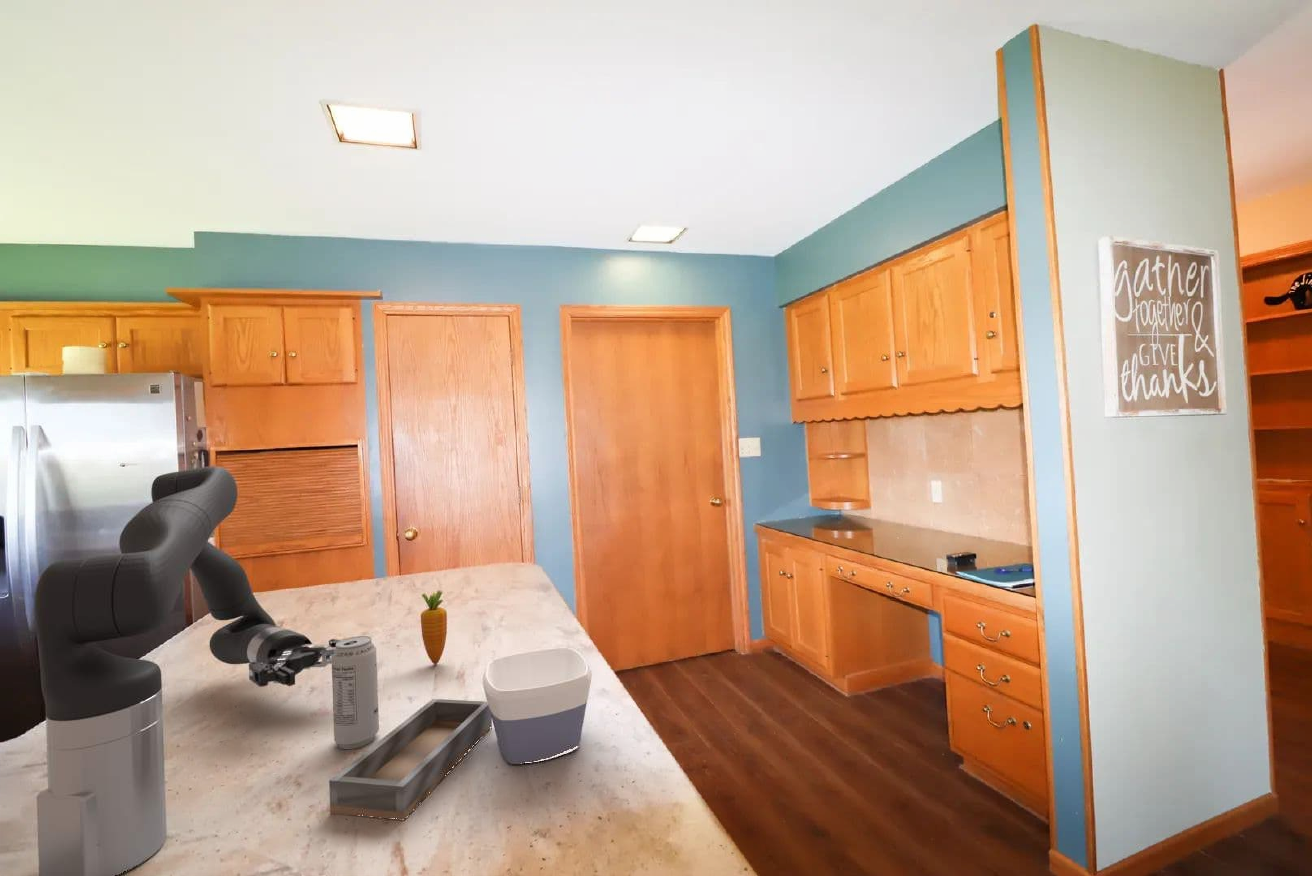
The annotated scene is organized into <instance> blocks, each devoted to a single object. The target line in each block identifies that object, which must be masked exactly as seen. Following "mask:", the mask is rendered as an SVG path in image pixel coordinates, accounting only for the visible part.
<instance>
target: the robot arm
mask: <svg viewBox="0 0 1312 876" xmlns="http://www.w3.org/2000/svg"><path fill="white" fill-rule="evenodd" d="M150 490H151V492H150V494H151V495H150V496H151V501H152V502H151V503H149V504H148V505H146V506H144V507H143V508H141V510H139V511H138V512H137V513H136V514H135V515H134V516H133V517H132V518H131V519H130V520H129V521H127V524H125V526H124V527H123V529H122V531H121V534H120V536H119V540H118V541H119V543H118V544H119V551H120V552H121V553H118V554H107V555H98V556H97V555H96V556H95V555H94V556H86V557H77V558H76V557H75V558H70V559H69V558H68V559H62V560H57V561H56V562H53V563H51V564H50V565H49V566H47V567H46V568H45V570H43V572H42V574H41V575H40V576H39V579H38V582H37V584H36V588H35V589H36V590H35V594H34V606H33V607H34V610H33V611H34V625H35V632H36V633H35V634H36V640H37V647H38V648H37V649H38V656H39V657H38V659H39V668H40V685H41V686H40V687H41V692H42V696H43V700H44V704H45V705H44V706H45V725H46V726H45V729H46V730H45V731H46V761H47V762H46V765H47V766H46V767H47V769H46V770H47V789H44V790H42V791H40V792H38V794H37V796H36V816H37V817H36V819H37V849H38V850H37V852H38V854H37V855H38V856H37V857H38V876H115V875H118V874H120V875H122V874H124V873H125V872H124V871H126V870H128V871H130V870H131V869H134V868H135V867H137V866H139V865H140V864H143V863H144V862H146V860H148V859H149V858H151V857H152V856H153V855H154V854H156V853H157V852H158V851H159V850H160V849H161V848H162V847H163V846H164V844H165V842H166V840H167V838H168V837H167V835H168V834H167V833H168V831H167V808H166V807H167V804H166V803H167V802H166V778H165V777H166V775H165V748H164V746H165V745H164V721H163V719H164V718H163V686H162V685H163V684H162V669H161V668H160V666H159V665H158V663H155V662H153V661H151V660H145V659H139V658H131V657H125V656H120V655H117V654H114V653H111V652H108V651H107V650H104V649H102V648H101V647H99V646H98V645H97V643H98V642H102V641H108V640H115V639H117V640H118V639H122V638H129V637H135V636H140V635H143V634H147V633H150V632H153V631H155V630H158V628H160V627H161V626H162V625H163V624H164V623H165V622H166V621H167V619H168V618H169V616H170V615H171V613H172V612H173V609H174V606H175V605H176V602H177V600H178V597H179V594H180V592H181V589H182V586H183V583H184V581H185V579H186V577H187V575H188V573H189V570H191V572H192V574H193V576H194V578H195V579H196V581H197V583H198V585H199V587H200V591H201V593H202V596H203V599H204V601H205V603H206V606H207V608H208V611H209V613H210V615H211V617H212V618H213V619H215V620H217V621H223V622H224V621H229V620H233V621H232V622H230V623H228V624H225V625H224V626H221V627H220V628H219V629H217V630H216V631H215V632H214V633H212V635H211V637H210V639H209V650H210V653H211V654H212V655H213V657H214V658H215V659H217V660H219V662H222V663H225V664H228V665H246V664H248V678H249V680H250V681H251V682H252V683H254V684H255V685H257V686H258V687H259V688H260V687H261V688H263V687H266V686H268V685H269V682H273V684H281V685H283V686H284V685H285V686H288V687H291V686H294V685H296V676H298V674H299V673H301V672H302V671H303V670H309V669H311V668H326V667H327V666H328V665H330V664H331V665H332V659H331V657H332V654H333V653H334V651H335V649H336V643H338V642H339V641H341V640H340V639H337V638H331V639H329V640H328V644H313V642H312V641H311V640H310V639H309V638H308V637H307V636H306V635H304V634H301V633H299V632H296V631H293V630H291V629H288V628H285V627H278V626H277V625H276V623H275V620H274V619H273V618H272V616H270V614H268V612H266V610H264V608H263V607H262V606H261V605H260V603H259V602H258V600H257V598H256V597H255V594H254V593H253V590H252V587H251V584H250V581H249V579H248V578H249V577H248V576H247V573H246V571H245V569H244V567H243V566H242V565H241V563H240V562H239V561H237V560H236V559H235V558H234V557H232V556H231V555H230V554H228V553H226V552H225V551H223V550H221V549H220V548H218V547H217V546H216V545H214V544H212V543H211V542H209V539H210V537H211V536H212V533H213V532H214V531H215V530H216V528H217V527H218V525H220V523H222V522H223V521H224V520H225V519H226V518H228V517H229V516H230V515H231V514H232V513H233V511H234V510H235V507H236V505H237V500H238V494H239V493H238V485H237V483H236V480H235V478H234V475H232V473H231V472H229V471H228V470H227V469H226V468H224V467H222V466H215V465H214V466H211V465H209V466H202V467H198V468H191V469H185V470H181V471H173V472H169V473H163V474H161V475H159V476H156V477H155V479H154V480H153V482H152V485H151V489H150ZM234 619H235V620H234ZM96 642H97V643H96ZM320 659H321V661H320ZM143 861H144V862H143ZM136 865H137V866H136ZM134 866H135V867H134ZM133 867H134V868H133ZM129 869H130V870H129ZM123 872H124V873H123ZM126 872H127V871H126ZM121 873H122V874H121ZM118 876H119V875H118Z"/></svg>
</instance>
